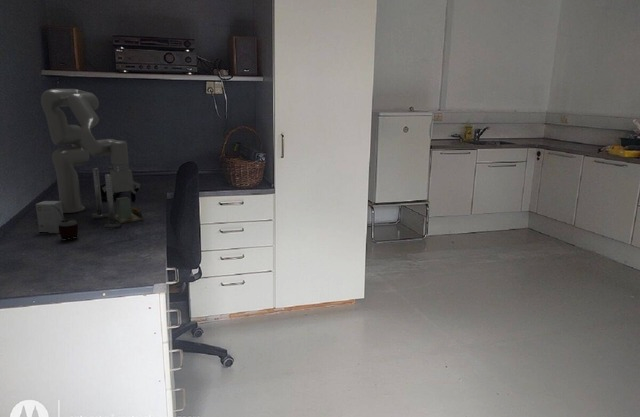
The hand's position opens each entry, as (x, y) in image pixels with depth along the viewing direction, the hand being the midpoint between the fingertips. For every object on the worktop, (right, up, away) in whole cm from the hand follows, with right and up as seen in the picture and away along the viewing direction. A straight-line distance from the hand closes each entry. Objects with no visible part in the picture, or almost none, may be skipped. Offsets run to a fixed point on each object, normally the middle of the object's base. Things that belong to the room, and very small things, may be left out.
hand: (122, 202), depth 229 cm
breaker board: (+1, -7, +3) cm, 8 cm away
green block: (0, -7, +2) cm, 7 cm away
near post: (0, -11, -11) cm, 15 cm away
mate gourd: (-11, -16, -29) cm, 35 cm away
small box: (-23, -13, -19) cm, 32 cm away
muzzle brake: (-26, +4, +48) cm, 55 cm away
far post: (-13, -7, +4) cm, 15 cm away
